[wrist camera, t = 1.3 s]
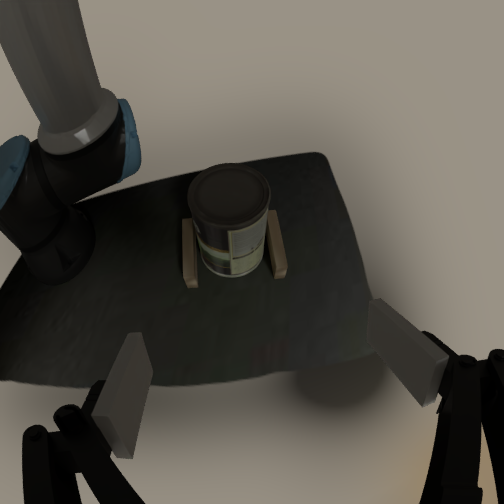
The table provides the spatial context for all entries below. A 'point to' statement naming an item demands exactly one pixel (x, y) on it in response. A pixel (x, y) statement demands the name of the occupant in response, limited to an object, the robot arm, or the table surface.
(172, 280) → the table surface
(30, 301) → the table surface
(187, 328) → the table surface
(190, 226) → the chute
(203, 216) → the coffee can
